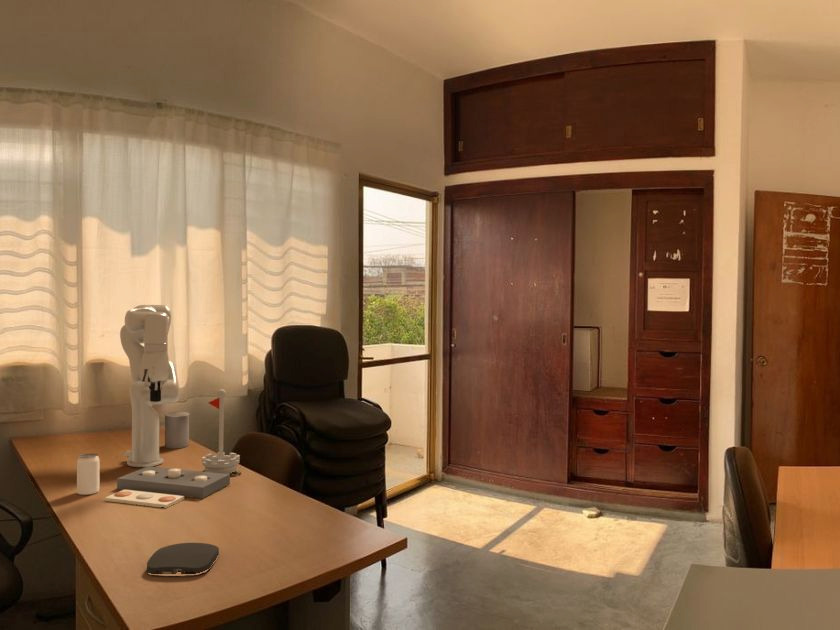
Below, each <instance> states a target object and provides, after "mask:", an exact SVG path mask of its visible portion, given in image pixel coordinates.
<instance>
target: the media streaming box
mask: <svg viewBox="0 0 840 630" xmlns="http://www.w3.org/2000/svg"><path fill="white" fill-rule="evenodd" d="M219 550H220V548H219V546H217V545H214V544H210V543H205V542H183V543H181V542H180V543H175V544H170V545H167V546H166V545H165V546H163V547H160V548H159V549H157V550H156V551H154V552H153V554H151V556H150V557H149V558H148V561H147V562H146V573H147V572H148V573H151V574H176V573H177V572H181V574H196V573H200V572H203V571H205V570H207V569H209V568H210V567H211V565H212V564H213V562H214V561H215V560H216V558H217V556H218V555H219V554H220V551H219ZM219 556H220V555H219ZM148 573H147V574H148Z"/></svg>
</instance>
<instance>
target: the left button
mask: <svg viewBox="0 0 840 630" xmlns="http://www.w3.org/2000/svg"><path fill="white" fill-rule="evenodd" d="M142 475H143V476H152V475H155V471H153V470H148V471H144V472H142Z"/></svg>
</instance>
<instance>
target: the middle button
mask: <svg viewBox="0 0 840 630" xmlns="http://www.w3.org/2000/svg"><path fill="white" fill-rule="evenodd" d="M181 469H182V468H172V469H169V470H168V478H172V479H177V478H180V477H181Z"/></svg>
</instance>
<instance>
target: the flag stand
mask: <svg viewBox="0 0 840 630" xmlns="http://www.w3.org/2000/svg"><path fill="white" fill-rule="evenodd" d="M226 395H227V392H226V390H225V389H224V388H223V389H222V388H221V389H219V390H217V396H218V397H217V398H215V399H213V400H210V401H208V402H207V403H208V404H209V405H211V406H213V408H216V409H218V411H219V414H218V415H219V417H218V418H219V419H218V420H219V421H218V423H219V425H218V452H217V455H213V453H208V454H205V456H202V458H201V459H202V460H201V461H202V462H201V464H202V466H203V467H204V469H205V470H204V472H212V473H222V474H228V473H231V474H233V473H232V472H234V473H236V472H237V465H239V464H240V459H241V458H240V456H241V455H240V454H237V453H235V452H229V454H228V455H227V454H226V455H225V451H224V422H225V421H224V420H225V419H224V416H225V415H224V413H225V411H224V410H225V409H224V408H225V405H224V404H225V399H224V398H225V397H226ZM235 471H236V472H235Z"/></svg>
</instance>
